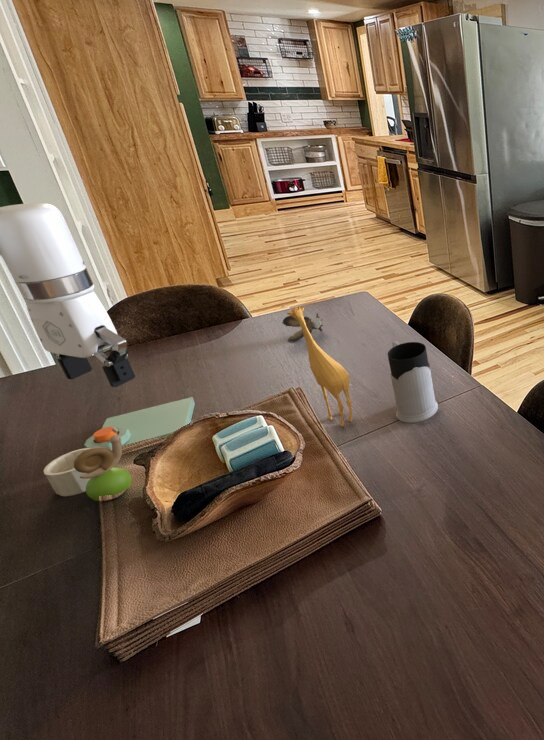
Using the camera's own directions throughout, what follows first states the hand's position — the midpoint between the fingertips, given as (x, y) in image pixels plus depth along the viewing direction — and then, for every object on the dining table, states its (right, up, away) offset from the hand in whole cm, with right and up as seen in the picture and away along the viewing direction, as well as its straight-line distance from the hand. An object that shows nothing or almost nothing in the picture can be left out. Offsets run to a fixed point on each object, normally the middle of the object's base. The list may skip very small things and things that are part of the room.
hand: (102, 378), depth 80 cm
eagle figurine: (0, +2, +56) cm, 56 cm away
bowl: (-8, -20, +5) cm, 22 cm away
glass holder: (+42, -11, +26) cm, 51 cm away
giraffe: (+27, -12, +22) cm, 37 cm away
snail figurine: (+1, -21, +2) cm, 21 cm away
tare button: (-11, -14, +11) cm, 20 cm away
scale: (-9, -14, +18) cm, 24 cm away
